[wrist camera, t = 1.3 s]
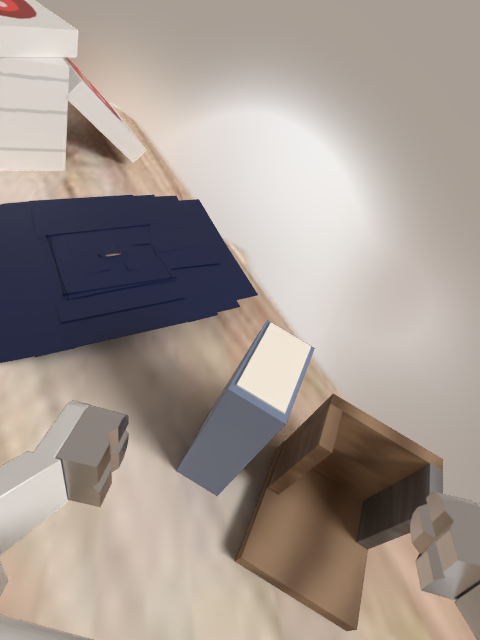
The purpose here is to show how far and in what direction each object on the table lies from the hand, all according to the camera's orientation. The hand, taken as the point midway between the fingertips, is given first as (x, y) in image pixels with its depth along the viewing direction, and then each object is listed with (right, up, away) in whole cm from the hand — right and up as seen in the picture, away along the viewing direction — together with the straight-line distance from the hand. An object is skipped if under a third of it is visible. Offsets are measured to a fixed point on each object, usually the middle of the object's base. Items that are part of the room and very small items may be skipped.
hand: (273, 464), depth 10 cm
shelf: (+6, -16, +27) cm, 32 cm away
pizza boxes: (-34, +32, +52) cm, 70 cm away
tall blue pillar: (-3, -9, +29) cm, 31 cm away
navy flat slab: (-17, +10, +41) cm, 45 cm away
